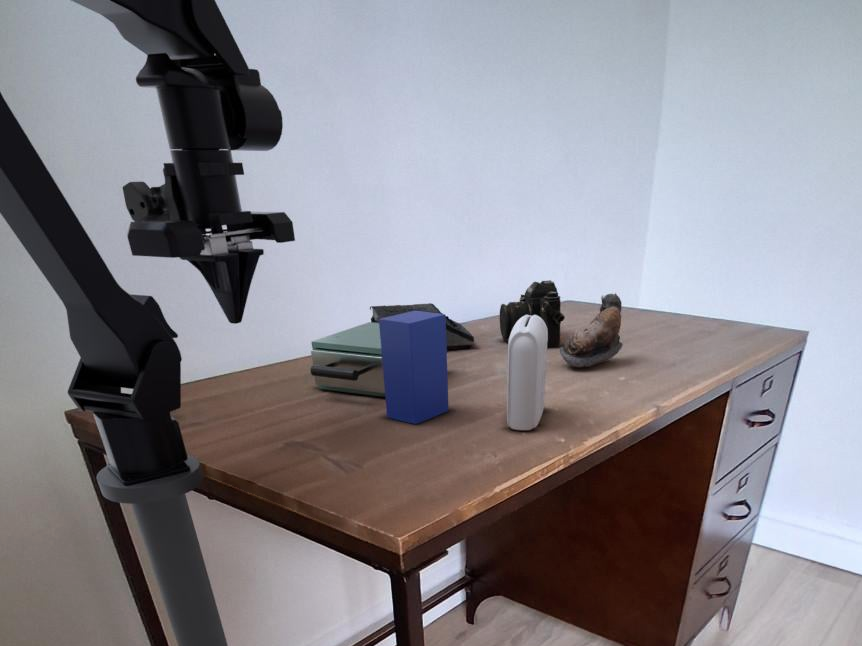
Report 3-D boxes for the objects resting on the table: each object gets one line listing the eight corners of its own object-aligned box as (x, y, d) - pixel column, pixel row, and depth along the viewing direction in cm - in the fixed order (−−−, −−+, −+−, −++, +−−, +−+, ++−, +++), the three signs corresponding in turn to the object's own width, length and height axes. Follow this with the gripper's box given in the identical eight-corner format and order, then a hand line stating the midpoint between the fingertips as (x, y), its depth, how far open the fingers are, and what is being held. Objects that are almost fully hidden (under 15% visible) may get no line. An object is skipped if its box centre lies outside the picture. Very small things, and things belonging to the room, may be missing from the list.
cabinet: (396, 398, 95) (392, 349, 92) (317, 388, 100) (311, 341, 96) (445, 373, 107) (443, 328, 103) (372, 365, 112) (368, 322, 108)
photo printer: (515, 407, 92) (517, 308, 85) (546, 408, 91) (551, 309, 84) (503, 431, 84) (504, 323, 76) (537, 432, 83) (542, 324, 76)
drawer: (372, 401, 91) (368, 365, 88) (298, 392, 95) (292, 356, 93) (435, 370, 105) (433, 337, 102) (368, 362, 109) (364, 331, 106)
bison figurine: (583, 374, 106) (589, 304, 100) (549, 366, 110) (553, 299, 104) (627, 361, 113) (635, 295, 107) (594, 354, 117) (599, 290, 111)
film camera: (480, 335, 131) (479, 277, 125) (534, 328, 135) (536, 273, 129) (525, 353, 118) (528, 290, 112) (584, 346, 122) (589, 285, 116)
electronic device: (475, 349, 121) (475, 312, 117) (379, 355, 117) (376, 316, 114) (460, 335, 130) (460, 300, 126) (371, 340, 127) (368, 304, 123)
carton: (415, 424, 86) (409, 323, 79) (386, 417, 88) (378, 318, 81) (448, 411, 91) (445, 314, 84) (420, 404, 93) (415, 310, 86)
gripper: (205, 152, 75) (235, 304, 84) (60, 150, 61) (115, 333, 70) (285, 150, 71) (308, 311, 81) (150, 148, 58) (196, 342, 67)
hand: (235, 322), depth 75 cm, fingers closed
